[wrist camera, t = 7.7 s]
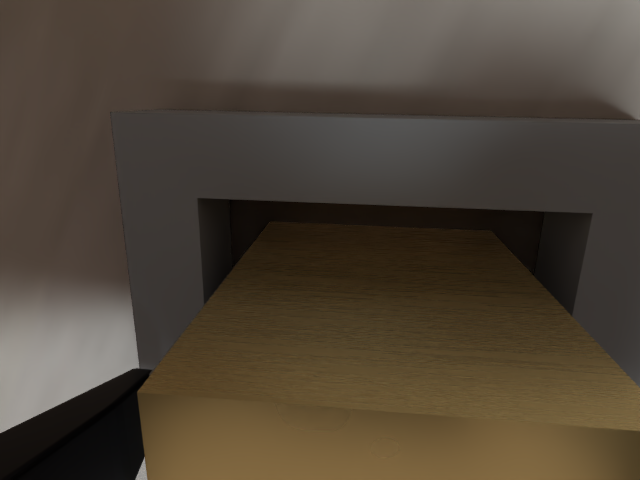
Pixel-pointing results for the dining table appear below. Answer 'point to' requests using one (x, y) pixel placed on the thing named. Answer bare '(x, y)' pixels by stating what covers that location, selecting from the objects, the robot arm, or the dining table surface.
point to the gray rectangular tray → (379, 198)
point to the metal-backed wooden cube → (386, 368)
